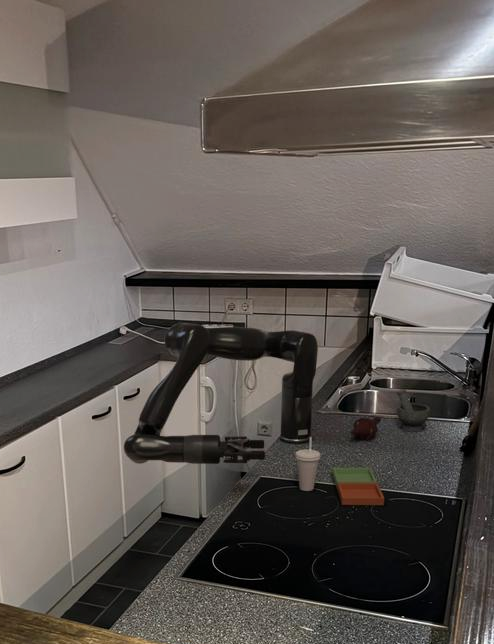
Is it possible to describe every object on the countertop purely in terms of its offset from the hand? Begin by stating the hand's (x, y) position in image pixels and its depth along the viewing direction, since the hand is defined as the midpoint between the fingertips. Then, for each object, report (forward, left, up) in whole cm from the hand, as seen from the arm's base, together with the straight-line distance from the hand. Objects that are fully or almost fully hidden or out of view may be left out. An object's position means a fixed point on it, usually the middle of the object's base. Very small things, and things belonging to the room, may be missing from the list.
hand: (264, 449), depth 196 cm
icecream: (-41, +32, -11) cm, 53 cm away
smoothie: (0, +11, -11) cm, 16 cm away
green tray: (-6, +24, -11) cm, 27 cm away
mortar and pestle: (-52, +48, -11) cm, 72 cm away
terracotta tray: (+5, +24, -11) cm, 27 cm away
